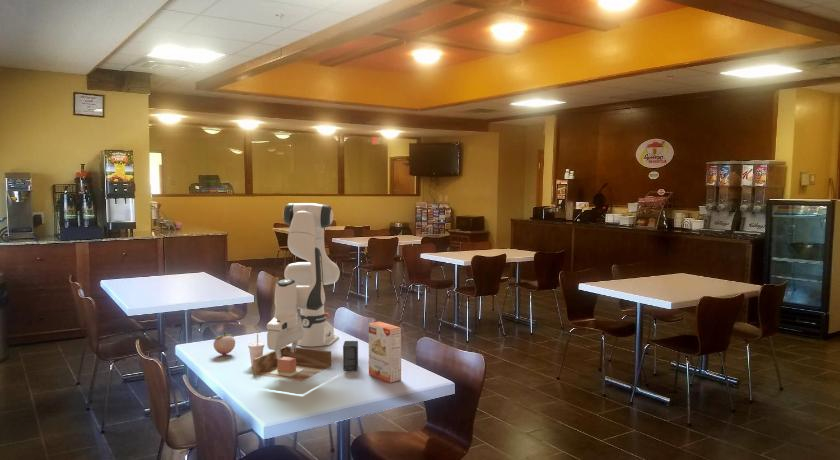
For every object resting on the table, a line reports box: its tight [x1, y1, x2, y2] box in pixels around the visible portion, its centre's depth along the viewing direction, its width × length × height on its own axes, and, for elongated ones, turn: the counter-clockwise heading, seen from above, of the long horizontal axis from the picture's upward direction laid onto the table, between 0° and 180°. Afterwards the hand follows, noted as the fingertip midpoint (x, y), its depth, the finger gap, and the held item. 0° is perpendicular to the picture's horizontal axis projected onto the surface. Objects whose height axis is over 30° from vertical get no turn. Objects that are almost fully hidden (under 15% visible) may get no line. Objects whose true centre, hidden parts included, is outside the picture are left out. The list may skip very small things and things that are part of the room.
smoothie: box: [247, 333, 265, 368], centre depth 243 cm, size 6×6×14 cm
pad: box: [269, 368, 305, 377], centre depth 236 cm, size 10×10×1 cm
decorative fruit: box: [213, 332, 236, 356], centre depth 261 cm, size 9×8×10 cm
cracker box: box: [368, 321, 402, 384], centre depth 231 cm, size 14×6×21 cm, turn 40°
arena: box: [252, 345, 332, 382], centre depth 238 cm, size 22×22×7 cm
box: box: [342, 340, 359, 372], centre depth 243 cm, size 8×6×11 cm
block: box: [277, 357, 296, 373], centre depth 236 cm, size 6×4×5 cm, turn 69°
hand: (286, 355), depth 236 cm, fingers open, 8 cm apart
